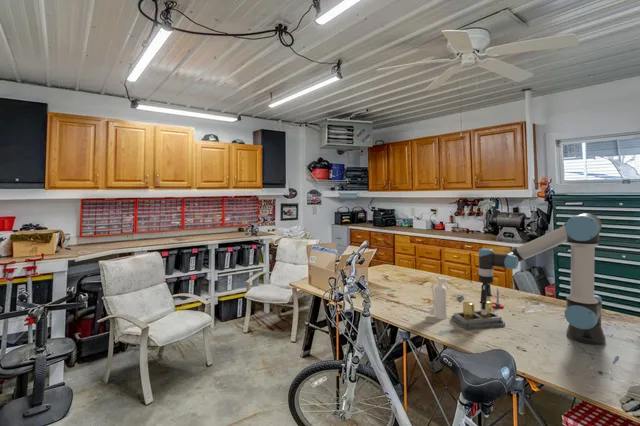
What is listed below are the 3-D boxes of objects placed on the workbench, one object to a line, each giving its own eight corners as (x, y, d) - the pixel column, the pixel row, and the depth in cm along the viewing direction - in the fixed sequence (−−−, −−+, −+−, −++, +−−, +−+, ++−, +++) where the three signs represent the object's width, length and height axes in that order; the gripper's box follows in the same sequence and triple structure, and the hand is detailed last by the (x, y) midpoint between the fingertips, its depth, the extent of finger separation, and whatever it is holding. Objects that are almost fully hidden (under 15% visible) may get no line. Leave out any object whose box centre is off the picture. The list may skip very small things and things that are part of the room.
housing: (505, 326, 174) (505, 305, 174) (466, 330, 171) (466, 309, 170) (487, 315, 189) (487, 296, 188) (451, 319, 186) (451, 299, 185)
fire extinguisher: (429, 313, 196) (430, 275, 193) (449, 316, 190) (451, 277, 188) (427, 317, 190) (428, 278, 187) (448, 321, 184) (450, 280, 182)
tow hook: (486, 303, 210) (491, 308, 201) (485, 285, 210) (491, 288, 201) (499, 304, 209) (505, 308, 200) (499, 285, 208) (505, 289, 199)
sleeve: (494, 320, 178) (494, 303, 177) (485, 320, 177) (484, 304, 177) (487, 316, 184) (487, 299, 183) (478, 316, 183) (478, 300, 183)
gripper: (489, 281, 167) (489, 319, 168) (496, 271, 187) (496, 305, 188) (474, 279, 171) (474, 316, 173) (482, 269, 191) (482, 302, 193)
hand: (485, 310), depth 180 cm, fingers open, 13 cm apart
